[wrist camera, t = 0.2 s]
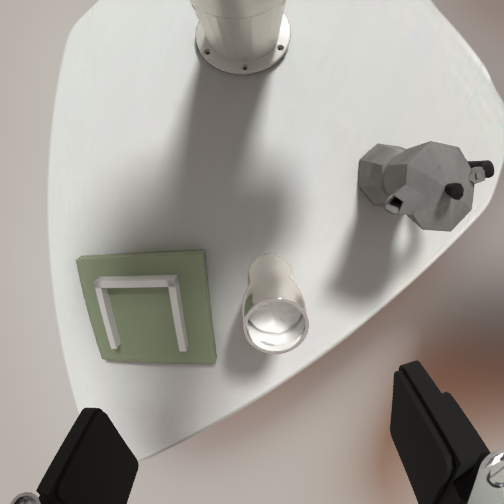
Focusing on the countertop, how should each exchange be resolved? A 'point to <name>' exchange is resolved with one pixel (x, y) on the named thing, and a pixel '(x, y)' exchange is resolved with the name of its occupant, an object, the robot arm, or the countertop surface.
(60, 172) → the countertop surface
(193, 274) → the plate
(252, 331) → the beer glass
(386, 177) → the coffeepot
